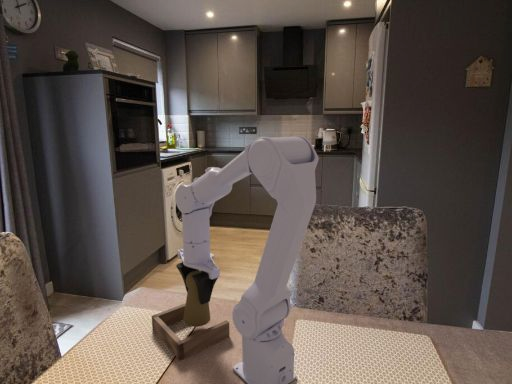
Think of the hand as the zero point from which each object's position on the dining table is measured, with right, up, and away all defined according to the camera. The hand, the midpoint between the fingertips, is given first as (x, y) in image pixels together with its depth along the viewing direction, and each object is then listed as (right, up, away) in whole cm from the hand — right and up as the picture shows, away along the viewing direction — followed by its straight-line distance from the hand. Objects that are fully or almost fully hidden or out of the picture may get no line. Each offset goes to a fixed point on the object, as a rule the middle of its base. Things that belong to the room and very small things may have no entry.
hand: (198, 297), depth 75 cm
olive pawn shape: (0, -5, +1) cm, 5 cm away
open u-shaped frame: (-1, -8, 0) cm, 8 cm away
